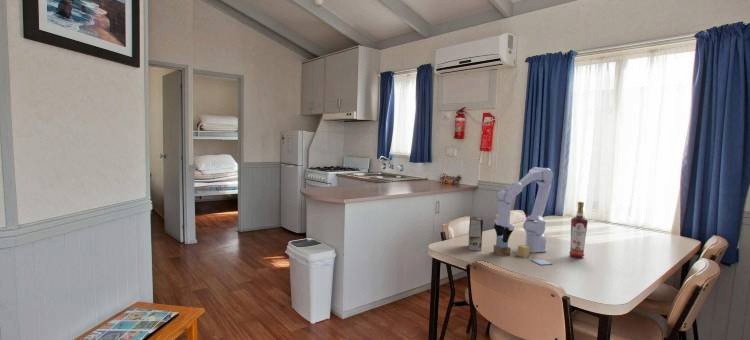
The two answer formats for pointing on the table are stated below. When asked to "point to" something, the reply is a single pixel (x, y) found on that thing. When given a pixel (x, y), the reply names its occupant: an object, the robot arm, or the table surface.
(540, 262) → the tile
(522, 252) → the ochre block
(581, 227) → the liquor
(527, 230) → the robot arm
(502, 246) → the blue block
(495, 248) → the walnut block
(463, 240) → the table surface
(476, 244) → the coffee box
